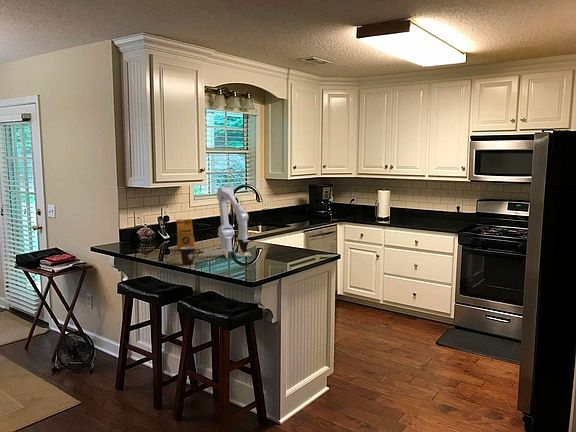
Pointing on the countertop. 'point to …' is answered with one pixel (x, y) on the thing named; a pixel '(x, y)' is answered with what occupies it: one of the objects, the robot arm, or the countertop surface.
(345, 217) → the countertop surface
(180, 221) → the coffee package
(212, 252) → the acrylic walls
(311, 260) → the countertop surface
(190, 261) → the coffee mug
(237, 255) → the tray
